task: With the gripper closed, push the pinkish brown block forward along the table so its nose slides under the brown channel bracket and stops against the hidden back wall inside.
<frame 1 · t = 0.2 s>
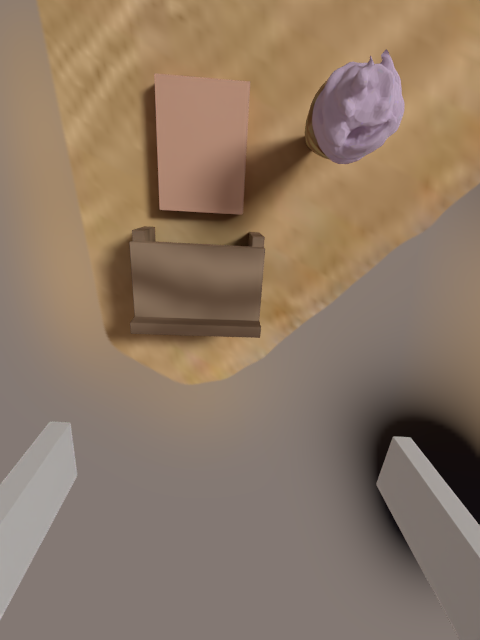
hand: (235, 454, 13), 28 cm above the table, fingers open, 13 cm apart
pinkish brown block: (203, 153, 33), on the table
brown channel bracket: (202, 271, 37), on the table
ice cream cone: (314, 139, 33), on the table
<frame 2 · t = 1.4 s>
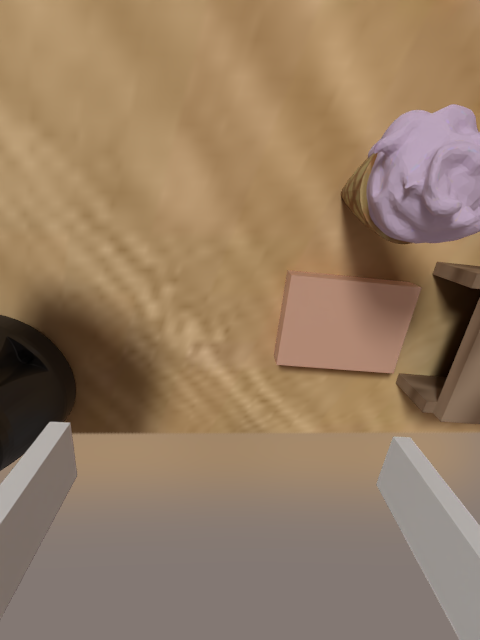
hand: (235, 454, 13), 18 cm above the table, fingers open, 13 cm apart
pinkish brown block: (337, 318, 31), on the table
brown channel bracket: (461, 331, 32), on the table
ice cream cone: (346, 188, 26), on the table
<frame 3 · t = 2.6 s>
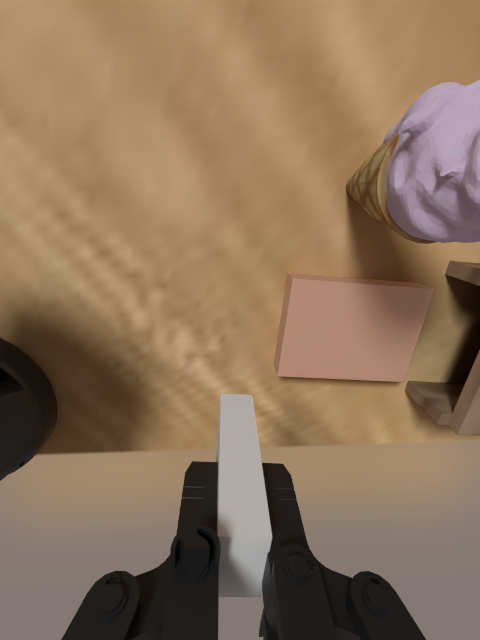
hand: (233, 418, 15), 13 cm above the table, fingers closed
pinkish brown block: (342, 323, 29), on the table
brown channel bracket: (474, 334, 29), on the table
ice cream cone: (352, 181, 24), on the table
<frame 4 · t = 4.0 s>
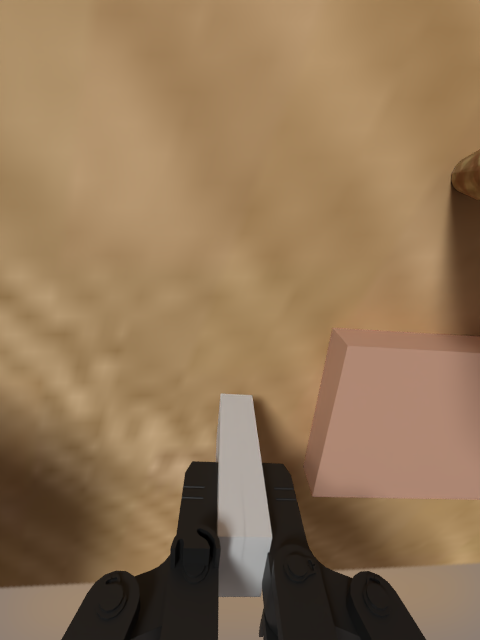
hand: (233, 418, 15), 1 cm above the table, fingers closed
pinkish brown block: (415, 402, 17), on the table
ice cream cone: (462, 166, 13), on the table
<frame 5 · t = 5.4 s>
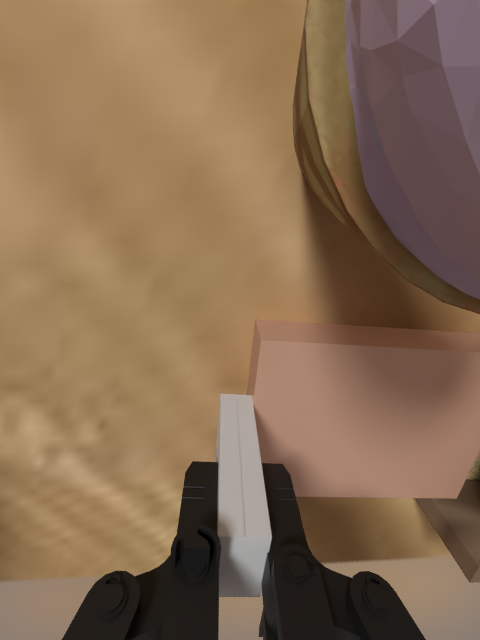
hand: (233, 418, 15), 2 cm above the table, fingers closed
pinkish brown block: (352, 399, 17), on the table, touching gripper
ice cream cone: (312, 147, 12), on the table
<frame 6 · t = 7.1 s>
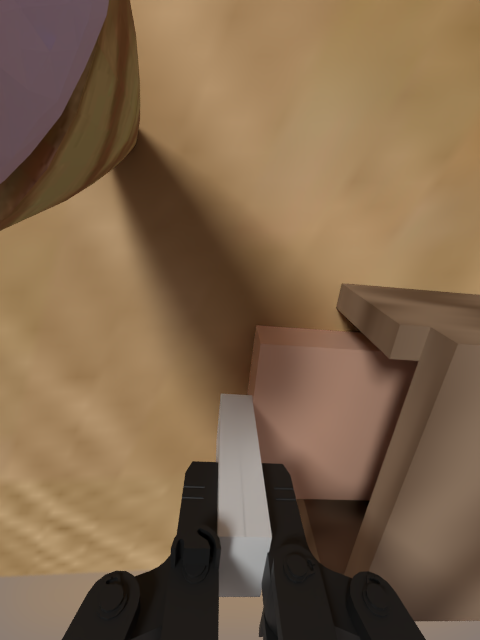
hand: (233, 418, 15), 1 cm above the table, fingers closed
pinkish brown block: (351, 402, 17), on the table
brown channel bracket: (402, 408, 17), on the table
ice cream cone: (114, 124, 12), on the table
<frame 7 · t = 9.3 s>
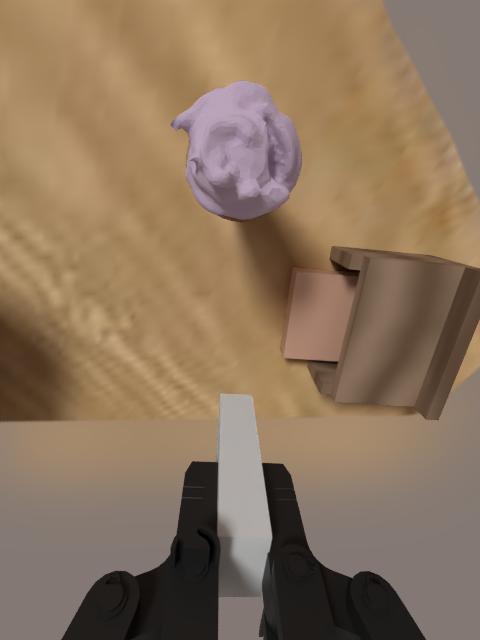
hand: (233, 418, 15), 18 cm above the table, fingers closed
pinkish brown block: (340, 312, 32), on the table
brown channel bracket: (365, 315, 32), on the table
ice cream cone: (233, 174, 27), on the table
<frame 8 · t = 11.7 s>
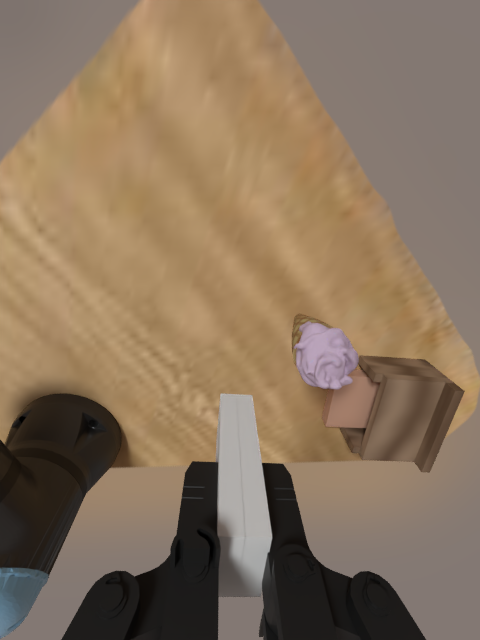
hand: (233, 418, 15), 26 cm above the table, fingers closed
pinkish brown block: (363, 393, 47), on the table
brown channel bracket: (380, 395, 47), on the table
ice cream cone: (298, 315, 42), on the table
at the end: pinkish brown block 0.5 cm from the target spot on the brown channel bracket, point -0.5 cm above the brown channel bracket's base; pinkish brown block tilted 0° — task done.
